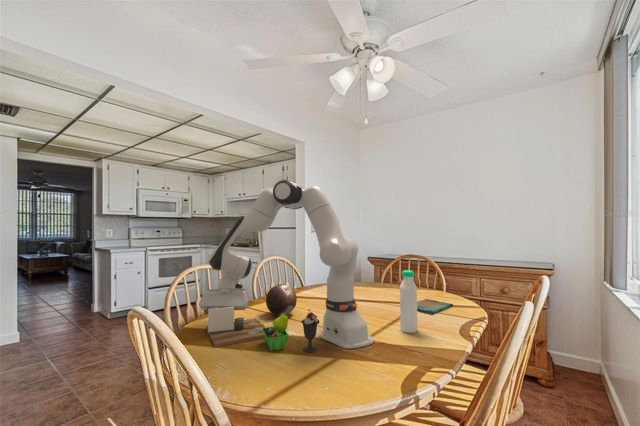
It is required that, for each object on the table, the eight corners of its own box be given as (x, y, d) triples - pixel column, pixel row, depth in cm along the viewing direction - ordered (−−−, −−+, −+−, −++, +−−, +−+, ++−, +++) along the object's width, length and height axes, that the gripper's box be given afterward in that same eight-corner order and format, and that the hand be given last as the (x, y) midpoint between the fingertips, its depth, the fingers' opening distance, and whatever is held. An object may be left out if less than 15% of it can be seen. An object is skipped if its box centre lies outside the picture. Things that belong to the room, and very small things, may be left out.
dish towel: (401, 309, 163) (401, 304, 163) (424, 301, 179) (424, 296, 179) (431, 316, 150) (431, 311, 150) (453, 307, 166) (453, 302, 166)
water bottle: (418, 329, 131) (417, 270, 131) (416, 334, 124) (415, 272, 125) (401, 326, 134) (401, 269, 134) (398, 332, 127) (398, 271, 128)
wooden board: (272, 336, 123) (272, 332, 123) (214, 347, 112) (215, 343, 112) (255, 320, 142) (255, 317, 142) (205, 328, 132) (205, 325, 132)
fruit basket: (261, 341, 118) (262, 311, 119) (284, 338, 121) (284, 309, 122) (267, 352, 108) (267, 320, 108) (292, 349, 111) (292, 317, 111)
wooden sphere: (283, 322, 140) (283, 289, 141) (259, 316, 148) (259, 285, 149) (302, 313, 153) (302, 283, 153) (279, 309, 161) (279, 280, 161)
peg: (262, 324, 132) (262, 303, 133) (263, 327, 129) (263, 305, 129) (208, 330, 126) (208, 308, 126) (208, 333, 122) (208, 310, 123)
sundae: (305, 355, 106) (305, 311, 106) (298, 348, 111) (297, 306, 112) (322, 351, 109) (322, 308, 109) (314, 344, 115) (314, 304, 115)
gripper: (202, 285, 135) (192, 314, 125) (248, 285, 135) (242, 315, 125) (206, 292, 140) (196, 321, 130) (250, 293, 139) (244, 322, 129)
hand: (219, 318), depth 127 cm, fingers closed
